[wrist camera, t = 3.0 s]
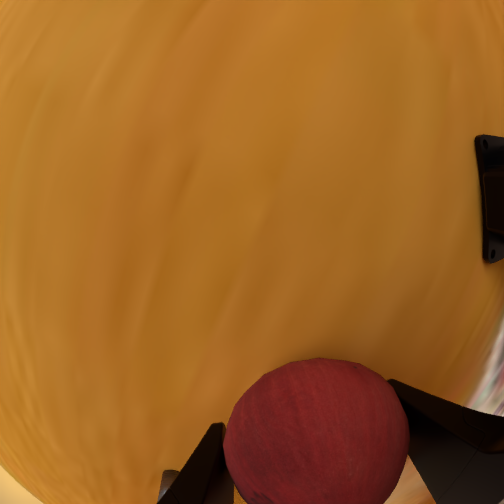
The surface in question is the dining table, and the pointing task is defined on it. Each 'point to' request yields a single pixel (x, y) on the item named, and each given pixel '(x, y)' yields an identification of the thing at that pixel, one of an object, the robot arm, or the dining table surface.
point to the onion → (317, 436)
